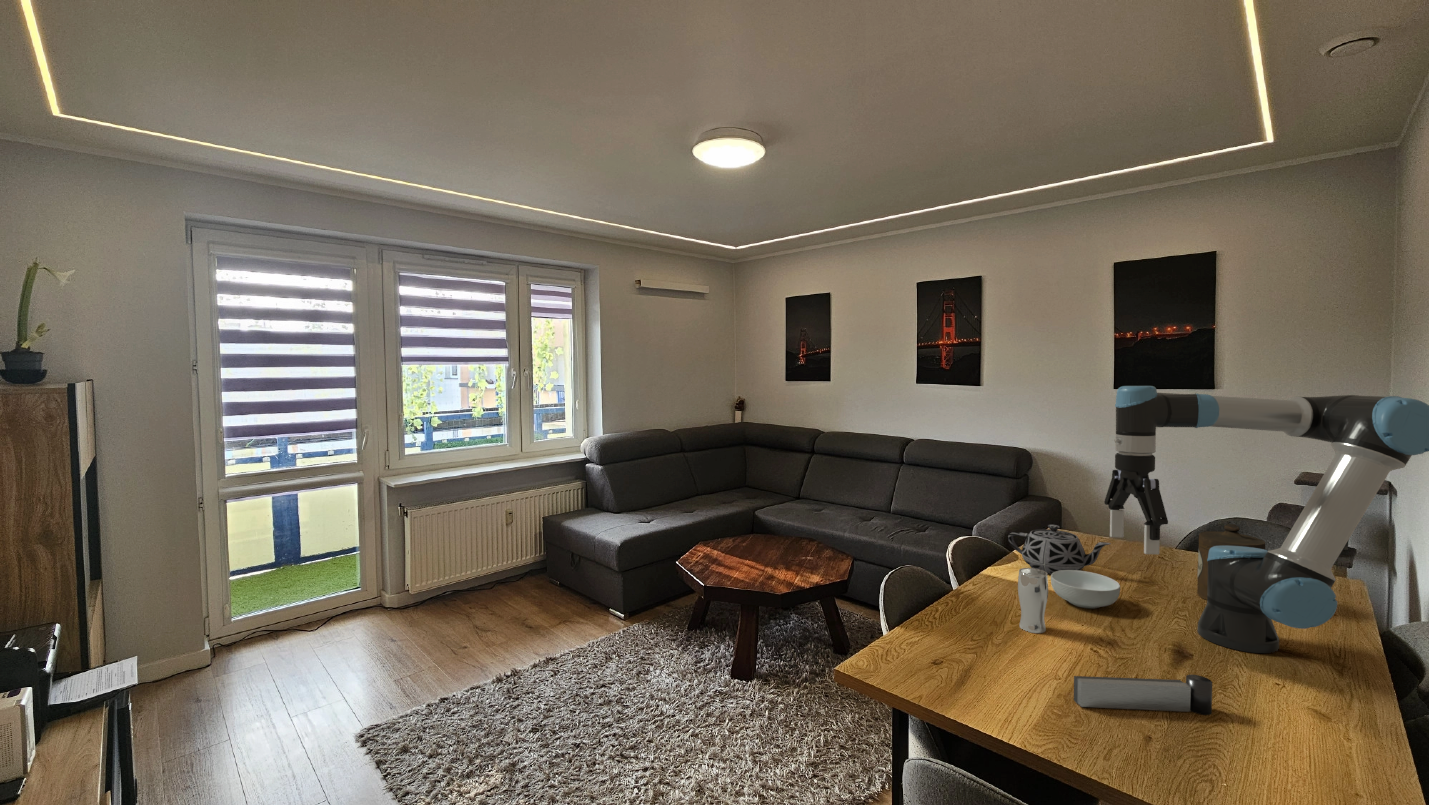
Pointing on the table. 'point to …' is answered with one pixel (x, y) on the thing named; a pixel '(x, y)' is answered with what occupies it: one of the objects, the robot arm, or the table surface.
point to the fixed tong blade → (1198, 684)
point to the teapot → (1055, 550)
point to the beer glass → (1032, 599)
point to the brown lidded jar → (1220, 539)
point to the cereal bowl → (1085, 588)
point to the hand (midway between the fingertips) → (1133, 545)
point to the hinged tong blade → (1134, 694)
